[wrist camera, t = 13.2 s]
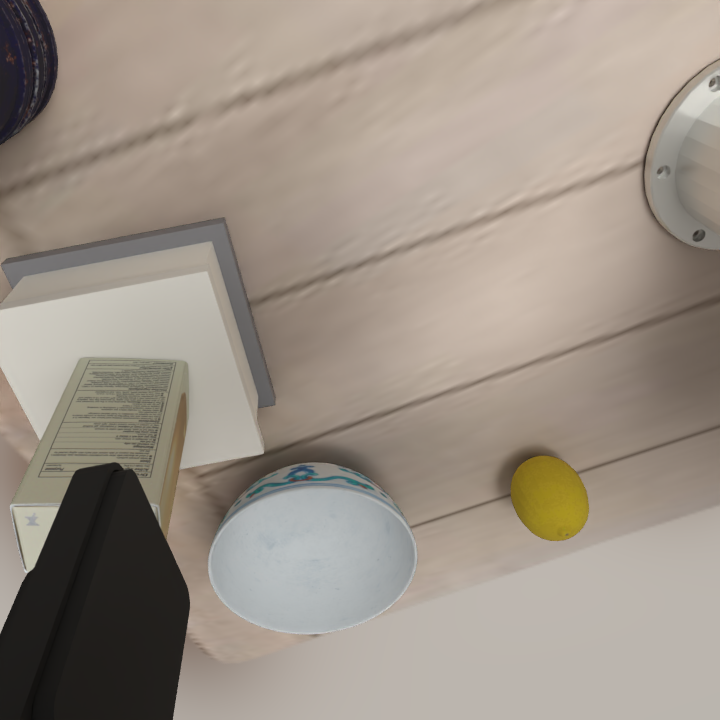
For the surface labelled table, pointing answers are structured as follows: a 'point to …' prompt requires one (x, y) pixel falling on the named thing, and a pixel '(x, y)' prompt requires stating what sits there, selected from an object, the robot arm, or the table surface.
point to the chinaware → (312, 551)
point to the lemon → (549, 498)
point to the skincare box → (106, 440)
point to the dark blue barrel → (24, 64)
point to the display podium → (142, 328)
